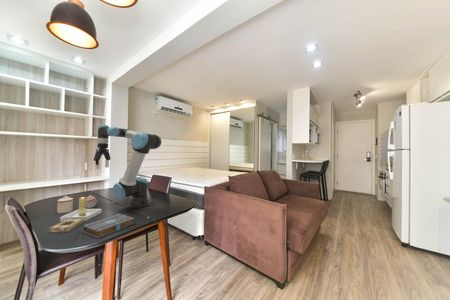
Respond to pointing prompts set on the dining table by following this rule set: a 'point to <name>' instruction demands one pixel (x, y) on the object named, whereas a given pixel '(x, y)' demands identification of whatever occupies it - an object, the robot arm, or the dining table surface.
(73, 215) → the tray
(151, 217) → the dining table surface
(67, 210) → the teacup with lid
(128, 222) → the book
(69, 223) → the block
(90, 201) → the cupcake
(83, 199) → the lock pin
